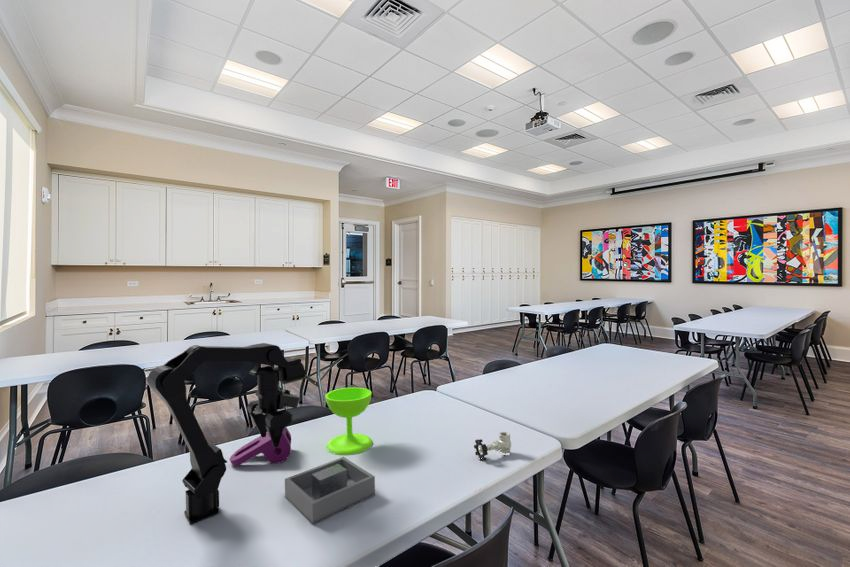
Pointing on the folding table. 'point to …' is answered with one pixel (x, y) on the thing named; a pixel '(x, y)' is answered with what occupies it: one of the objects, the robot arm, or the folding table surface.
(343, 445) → the wineglass
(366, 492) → the open box
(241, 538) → the folding table surface
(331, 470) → the grey bevelled block
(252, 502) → the folding table surface
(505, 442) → the valve
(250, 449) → the mounting bracket
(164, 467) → the folding table surface
